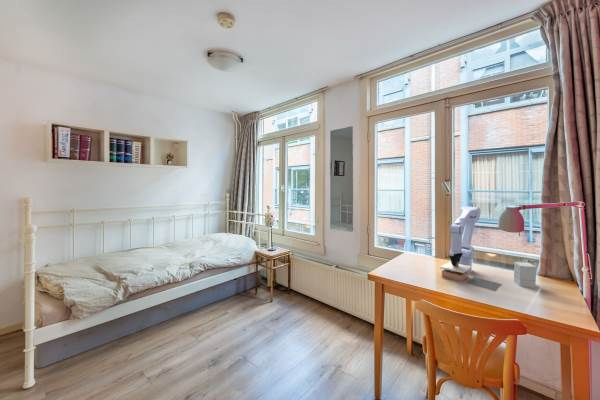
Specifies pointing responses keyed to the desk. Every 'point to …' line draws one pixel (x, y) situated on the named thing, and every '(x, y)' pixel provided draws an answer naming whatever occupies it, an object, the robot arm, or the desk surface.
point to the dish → (454, 275)
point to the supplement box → (524, 274)
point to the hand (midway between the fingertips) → (455, 264)
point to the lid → (456, 267)
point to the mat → (484, 283)
